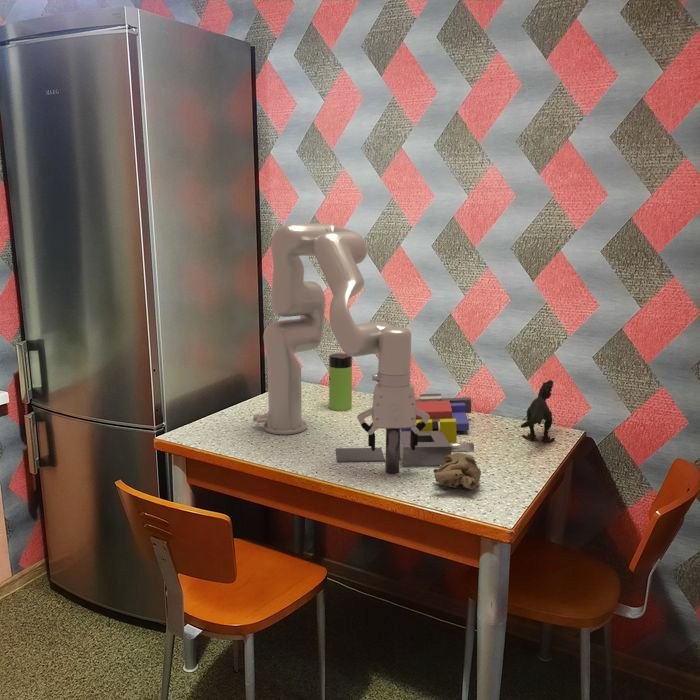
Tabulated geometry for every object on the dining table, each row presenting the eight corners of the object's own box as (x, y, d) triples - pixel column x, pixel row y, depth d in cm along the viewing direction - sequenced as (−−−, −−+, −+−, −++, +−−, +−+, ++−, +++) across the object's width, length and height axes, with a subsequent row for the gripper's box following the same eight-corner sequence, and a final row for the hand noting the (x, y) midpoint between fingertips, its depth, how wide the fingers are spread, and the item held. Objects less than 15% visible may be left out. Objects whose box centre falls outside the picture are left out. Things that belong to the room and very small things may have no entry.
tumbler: (336, 412, 202) (336, 359, 198) (324, 406, 208) (324, 354, 205) (355, 409, 206) (356, 356, 202) (343, 403, 212) (344, 352, 209)
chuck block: (402, 466, 158) (403, 447, 157) (396, 449, 170) (396, 431, 169) (478, 465, 159) (479, 446, 158) (466, 448, 171) (467, 430, 170)
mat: (337, 462, 160) (337, 460, 160) (335, 449, 169) (336, 448, 169) (385, 461, 161) (385, 460, 161) (381, 449, 170) (381, 447, 170)
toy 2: (562, 430, 186) (566, 380, 183) (540, 461, 162) (544, 404, 159) (531, 425, 190) (534, 376, 187) (505, 455, 166) (508, 399, 163)
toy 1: (384, 423, 173) (385, 386, 202) (385, 452, 176) (386, 412, 204) (480, 420, 171) (467, 383, 200) (480, 450, 174) (468, 409, 202)
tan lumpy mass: (449, 437, 154) (424, 464, 141) (493, 449, 149) (471, 478, 136) (447, 464, 156) (422, 493, 144) (490, 477, 151) (468, 508, 139)
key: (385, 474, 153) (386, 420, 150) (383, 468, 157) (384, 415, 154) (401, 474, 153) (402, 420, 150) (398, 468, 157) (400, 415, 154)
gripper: (358, 383, 146) (358, 454, 150) (433, 383, 147) (431, 453, 151) (356, 376, 153) (355, 443, 157) (427, 375, 155) (425, 442, 158)
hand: (392, 448), depth 154 cm, fingers open, 9 cm apart
